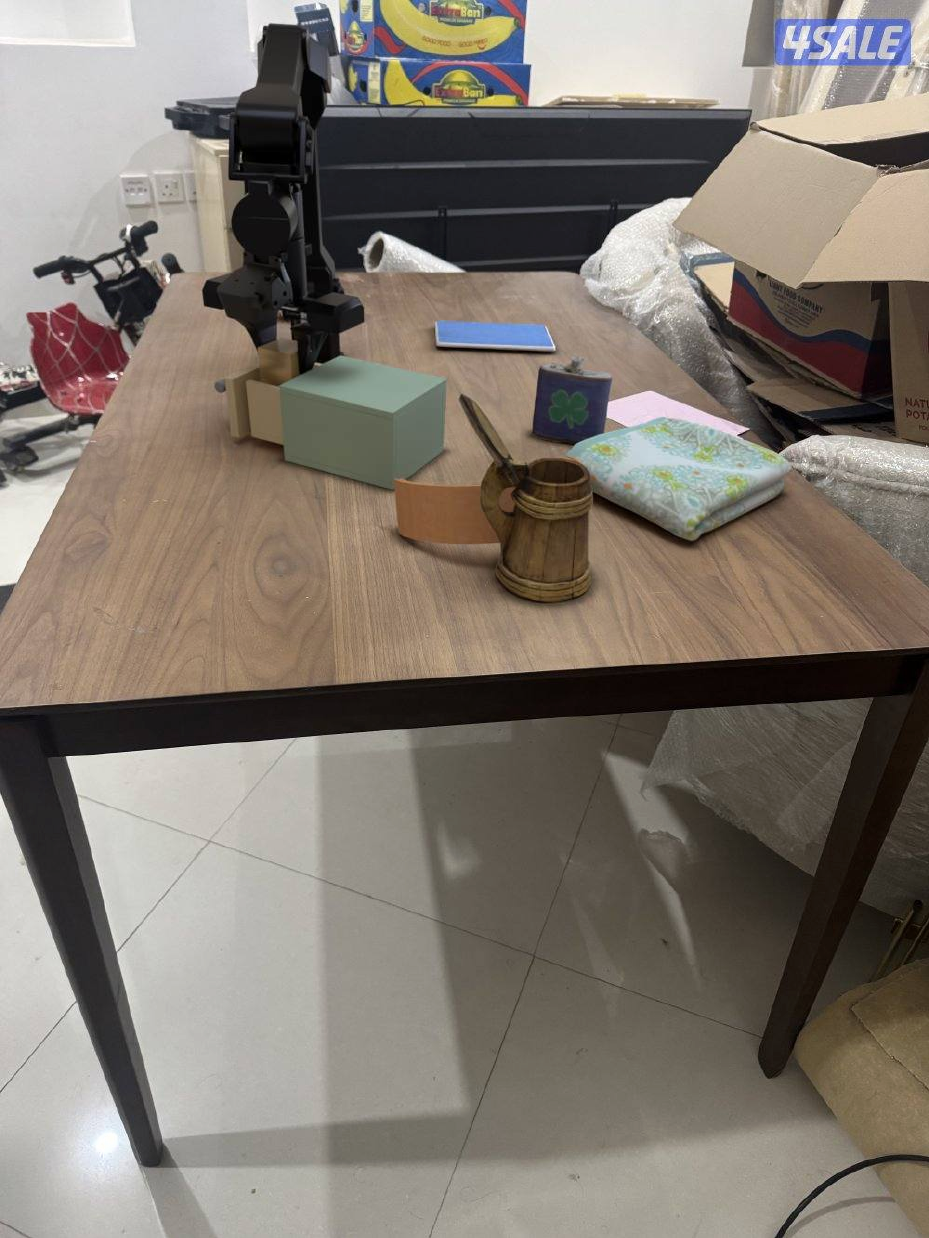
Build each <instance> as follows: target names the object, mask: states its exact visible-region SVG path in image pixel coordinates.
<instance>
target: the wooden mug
mask: <svg viewBox="0 0 929 1238" xmlns="http://www.w3.org/2000/svg"><path fill="white" fill-rule="evenodd" d="M458 403H459V404H460V406H461V409H462V410H463V413H464V414H465V416H466V418H467V420H468V422H469V424H470V426H471V427H472V429H473V431H474V433H475V434H476V436H477V437H478V439H479V440H480V442H481V443H482V444H483V446H484V448H485V449H486V451H487V452H488V453H489V455H490V457H491V458H492V460H493V461H492V462H491V464H490V465H489V467H488V468H487V470H486V471H485V473H484V475H483V478H482V480H481V483H480V485H481V489H480V501H481V507H482V509H483V511H484V513H485V516H486V518H487V520H488V521H489V523H490V524H491V526H492V528H493V529H494V531H495V532H496V534H497V536H498V539H499V541H500V543H499V545H500V554H499V556H498V559H497V561H496V565H495V569H494V570H495V575H496V577H497V578H498V579H499V581H500V582H501V583H502V585H503V586H504V587H505V588H506V589H507V590H508V591H510V592H511V593H513V594H514V595H516V596H518V597H520V598H524V599H528V600H532V601H537V602H546V603H557V602H558V603H559V602H562V601H566V600H571V599H574V598H577V597H579V596H581V595H582V594H584V593H585V592H587V591H589V590H588V589H589V588H590V586H591V579H592V574H591V573H592V571H591V570H592V569H591V568H592V567H591V562H590V560H589V535H590V534H589V529H590V525H589V524H590V523H589V522H590V521H589V520H590V519H589V518H590V511H591V509H592V507H593V506H594V494H593V493H594V492H593V491H592V487H591V485H590V473H589V471H588V469H587V468H586V467H585V466H584V465H583V464H581V463H579V462H576V461H572V460H568V459H564V458H562V457H542V458H539V459H536V460H533V461H532V462H530V463H528V462H526V461H521V460H514V459H513V458H512V457H513V456H511V454H510V452H509V450H508V448H507V447H506V446H505V444H504V442H503V440H502V438H501V437H500V435H499V433H498V432H497V430H496V429H495V427H494V425H493V424H492V423H491V421H490V420H489V418H488V417H487V415H486V414H485V412H484V411H483V410H482V409H481V408H480V406H479V405H478V403H477V402H476V401H474V399H472V398H470V397H469V396H467V395H465V394H464V393H461V394H460V395H459V397H458ZM510 487H515V488H514V490H513V491H512V492H511V498H512V500H513V502H514V503H515V505H514V509H513V512H506V511H504V510H502V509H501V507H500V505H499V496H500V494H501V493H502V492H503V491H504V490H505V489H506V488H510Z"/></svg>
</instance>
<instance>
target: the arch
mask: <svg viewBox="0 0 929 1238" xmlns="http://www.w3.org/2000/svg"><path fill="white" fill-rule="evenodd" d="M561 458H564V459H568V460H572V461H576V462H579V463H581V462H580V461H579V460H578V459H576V458H574V457H571V456H567V458H565V456H563V457H561ZM514 488H515V487H510V488H506V489H505V490H504V491H503V492H502V493H501V494H500V496H499V505H500V507H501V509H502V510H504V511H506V512H513V509H514V505H515V503H514V502H513V500H512V498H511V492H512V491H513V490H514ZM480 489H481V484H462V485H461V484H455V485H454V484H453V485H452V484H433V483H432V484H431V483H422V482H415V481H410V480H407V479H406V480H404V479H401V478H400V479H399V480H398V479H394V500H395V509H396V521H397V531H398V534H399V535H401V536H403V537H404V538H405V537H406V538H409V539H411V540H416V541H422V542H428V543H435V544H445V545H446V544H448V545H489V544H500V541H499V539H498V536H497V534H496V532H495V531H494V529H493V528H492V526H491V524H490V523H489V521H488V520H487V518H486V516H485V513H484V511H483V509H482V507H481V501H480Z"/></svg>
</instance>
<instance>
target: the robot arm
mask: <svg viewBox="0 0 929 1238" xmlns="http://www.w3.org/2000/svg"><path fill="white" fill-rule="evenodd" d="M261 31H262V32H261V33H262V35H261V37H262V38H261V39H260V40H259V41H258V42H257V43H256V49H257V50H256V51H257V53H256V54H257V55H256V56H257V77H256V82H255V86H254V87H251V88H248V89H247V90H246V89H245V90H244V91H242V92H241V93H240V95H239V97H238V99H237V101H236V103H235V108H234V112H230V114H229V121H228V122H229V123H228V164H227V165H228V166H227V167H228V169H227V172H228V173H227V176H228V177H227V178H228V181H234V182H243V183H244V184H243V185H244V195H243V196H242V197H241V199H240V200H238V202H237V203H236V205H235V206H234V208H233V210H232V216H231V219H230V220H231V221H230V223H231V229H232V233H233V235H234V238H235V240H236V241H237V243H238V244H239V246H241V247H242V249H243V252H242V258H243V260H242V261H243V262H242V266H241V267H240V268H237V269H235V270H234V271H232V272H228V273H225V274H222V275H217V276H215V277H212V278H208V279H206V280H205V283H204V284H203V287H202V289H201V295H202V302H203V306H204V307H205V308H209V309H215V310H220V311H224V313H225V315H226V317H227V318H229V319H232V320H235V322H238V323H239V324H240V325H241V326H243V327H244V328H245V330H246V331H247V333H248V335H249V337H250V339H251V340H252V344H253V345H254V347H255V350H256V352H257V353H258V347H260V346H262V345H265V344H267V343H270V342H272V341H274V340H277V339H278V338H277V337H278V313H279V312H278V311H279V310H282V315H283V316H282V315H281V316H282V319H283V321H287V320H289V322H290V323H289V324H290V327H289V330H290V337H291V339H290V340H294V341H297V346H298V362H299V372H300V375H302V374H304V373H306V372H308V371H310V370H312V369H313V366H314V364H315V363H320V364H324V363H326V362H328V361H330V360H332V359H334V358H337V357H339V356H341V355H342V356H345V355H344V354H345V353H344V352H343V351H341V346H340V345H341V341H340V340H341V339H340V338H341V337H340V334H342V333H344V332H346V331H349V330H351V329H353V328H355V327H357V326H360V325H362V324H364V323H365V306H364V303H363V302H362V300H361V299H360V298H359V297H358V296H354V295H348V294H346V293H345V288H344V287H343V286H342V282H341V281H340V277H336V267H335V261H334V259H333V258H332V256H331V254H330V253H329V252H328V250H327V249H326V247H325V246H324V244H323V243H324V242H323V228H322V225H323V224H322V207H321V189H320V187H321V186H320V171H319V169H320V168H319V150H318V133H317V132H318V131H317V128H318V126H319V123H320V121H321V119H322V117H323V115H324V113H325V111H326V108H327V105H328V94H332V86H333V85H332V79H333V78H332V77H333V76H332V64H331V63H332V62H331V59H330V54H329V50H328V47H327V46H326V45H323V44H322V43H321V42H319V41H318V40H317V39H315V38H313V37H312V36H311V35H310V32H309V28H308V27H303V26H302V24H292V23H291V24H289V23H275V22H274V23H272V22H270V23H268V25H263V26H262V30H261ZM240 159H241V162H240Z"/></svg>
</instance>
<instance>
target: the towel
mask: <svg viewBox="0 0 929 1238" xmlns="http://www.w3.org/2000/svg"><path fill="white" fill-rule="evenodd" d="M567 456H571V457H574V458H576V459H578V460H579V461H580V462H581V464H583V465H584V466H585V467H586V468H587V469H588V471H589V473H590V485H591V487H592V493H594V494H596V495H598V496H600V497H602V498H603V499H606V500H608V501H609V502H612V503H613V504H616V505H618V506H619V507H621V508H623V509H626V510H629V511H630V512H632V513H634V514H636V515H638V516H640V517H642V518H644V519H646V520H648V521H649V522H652V523H653V524H655V525H657V526H659V527H660V528H662V529H664V530H666V531H668V532H669V533H671V534H673V535H674V536H676V537H679V538H681V539H684V540H687V541H689V542H693V541H696V540H697V539H698V538H699V537H700V536H701V535H702V534H706V533H708V532H711V531H713V530H715V529H717V528H719V527H721V526H724V525H725V524H726V523H728V522H731V521H733V520H735V519H737V518H739V517H741V516H742V515H744V514H746V513H748V512H749V511H752V510H754V509H756V508H758V507H760V506H762V505H763V504H766V503H767V502H770V501H771V500H772V499H774V498H776V497H777V496H778V495H780V494H781V492H782V491H783V490H784V488H785V486H786V482H784V480H783V478H785V477H787V476H789V474H790V473H791V472H792V471H793V467H792V465H791V463H790V462H789V461H788V460H787V459H786V458H785V457H783V456H782V455H780V454H779V453H777V452H775V451H773V450H772V449H771V450H770V449H769V448H766V447H764V446H762V445H759V444H756V443H754V442H751V441H748V440H745V439H743V438H740V437H737V436H736V435H733V434H731V433H728V432H726V431H723V430H720V429H717V428H715V427H712V426H708V425H705V424H702V423H699V422H698V423H697V422H693V421H689V420H686V419H683V418H675V417H667V416H659V417H656V418H653V419H651V420H649V421H647V422H644V423H643V422H642V423H639V424H636V425H633V426H628V427H624V428H619V429H615V430H611V431H608V432H604V433H603V434H600V435H597V436H594V437H591V438H588V439H586V440H583V441H581V442H579V443H577V444H574V445H573V446H572V448H571V449H570V450H568V451H566V453H565V455H564V457H565V458H567Z"/></svg>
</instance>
